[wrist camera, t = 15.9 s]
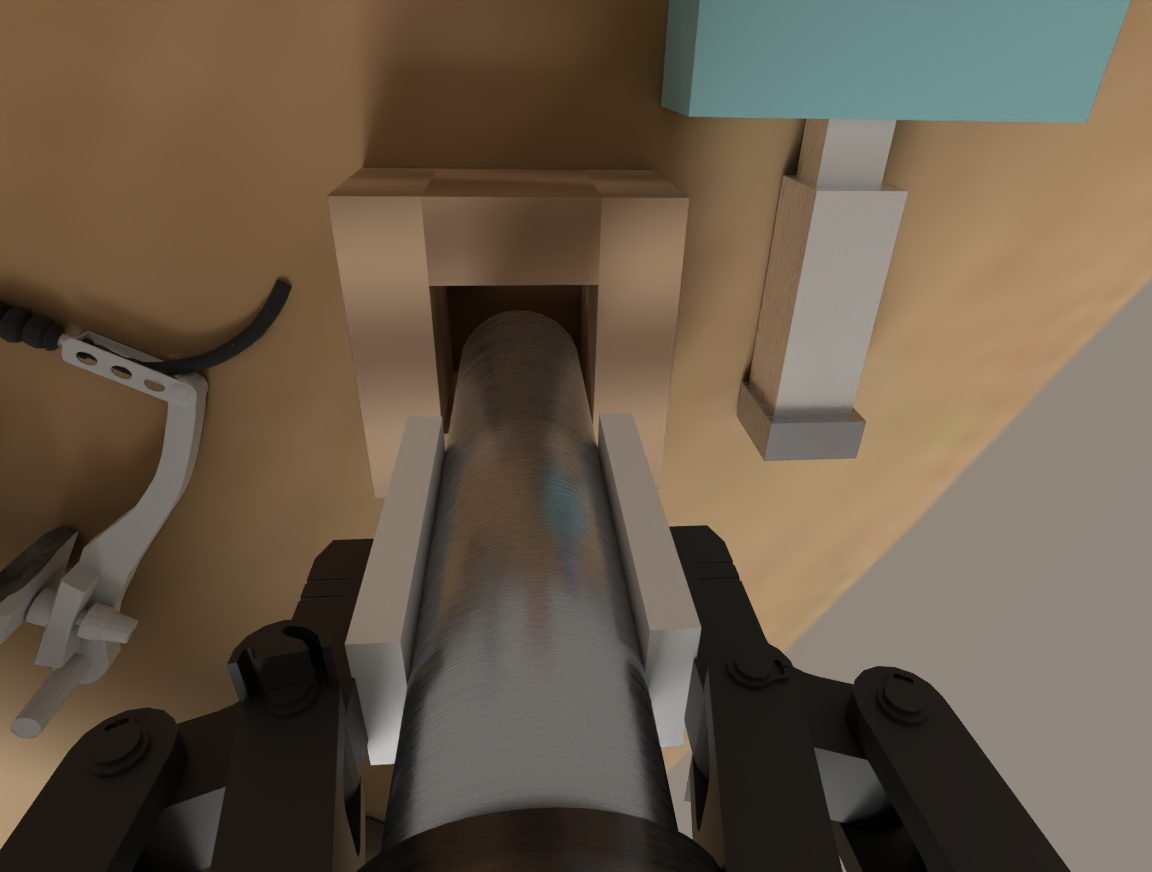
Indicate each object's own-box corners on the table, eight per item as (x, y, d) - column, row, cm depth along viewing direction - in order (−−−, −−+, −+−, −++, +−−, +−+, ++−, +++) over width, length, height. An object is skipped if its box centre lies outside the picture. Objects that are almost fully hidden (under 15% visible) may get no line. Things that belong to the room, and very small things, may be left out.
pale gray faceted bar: (818, 413, 29) (855, 458, 25) (736, 415, 28) (764, 460, 25) (902, 45, 22) (968, 45, 19) (796, 42, 21) (844, 42, 18)
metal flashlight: (589, 427, 22) (748, 1221, 7) (452, 430, 21) (322, 1273, 7) (594, 296, 19) (841, 1058, 5) (441, 297, 19) (210, 1123, 4)
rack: (636, 422, 28) (659, 489, 24) (396, 427, 27) (375, 498, 23) (656, 170, 23) (689, 197, 19) (362, 167, 22) (327, 196, 18)
